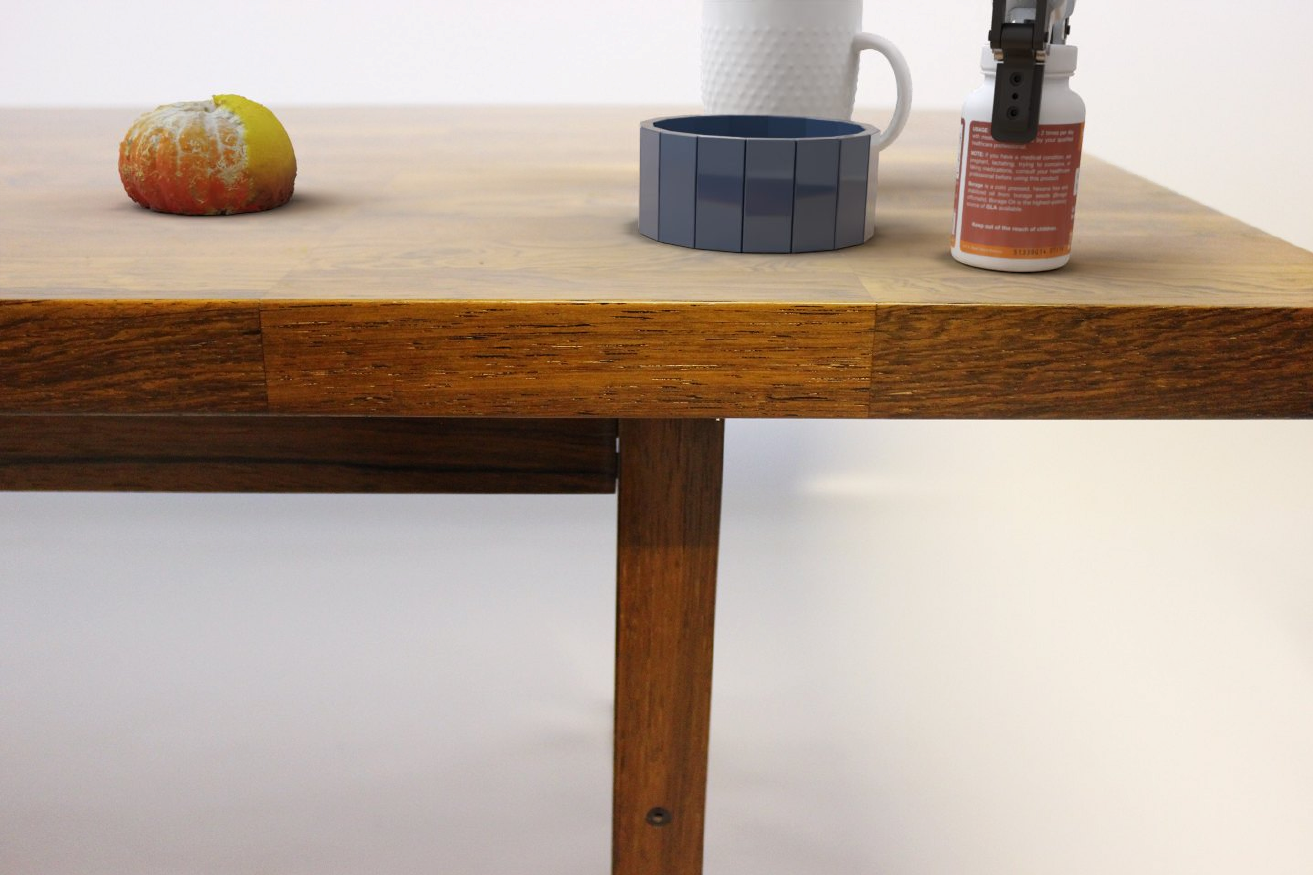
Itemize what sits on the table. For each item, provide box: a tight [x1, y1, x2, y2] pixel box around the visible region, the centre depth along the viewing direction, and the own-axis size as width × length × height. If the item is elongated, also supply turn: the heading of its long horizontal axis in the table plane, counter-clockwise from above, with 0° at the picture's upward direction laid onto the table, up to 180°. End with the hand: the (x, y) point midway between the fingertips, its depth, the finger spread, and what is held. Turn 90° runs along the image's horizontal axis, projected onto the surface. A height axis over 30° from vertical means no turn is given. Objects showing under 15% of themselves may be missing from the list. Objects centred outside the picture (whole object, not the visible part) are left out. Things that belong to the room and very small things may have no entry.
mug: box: [700, 0, 913, 153], centre depth 94 cm, size 15×11×13 cm
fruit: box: [117, 93, 298, 216], centre depth 84 cm, size 11×10×8 cm
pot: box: [637, 113, 882, 254], centre depth 78 cm, size 14×14×6 cm
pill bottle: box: [950, 43, 1087, 273], centre depth 70 cm, size 6×6×11 cm
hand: (1021, 133), depth 69 cm, fingers closed on pill bottle, 6 cm apart
